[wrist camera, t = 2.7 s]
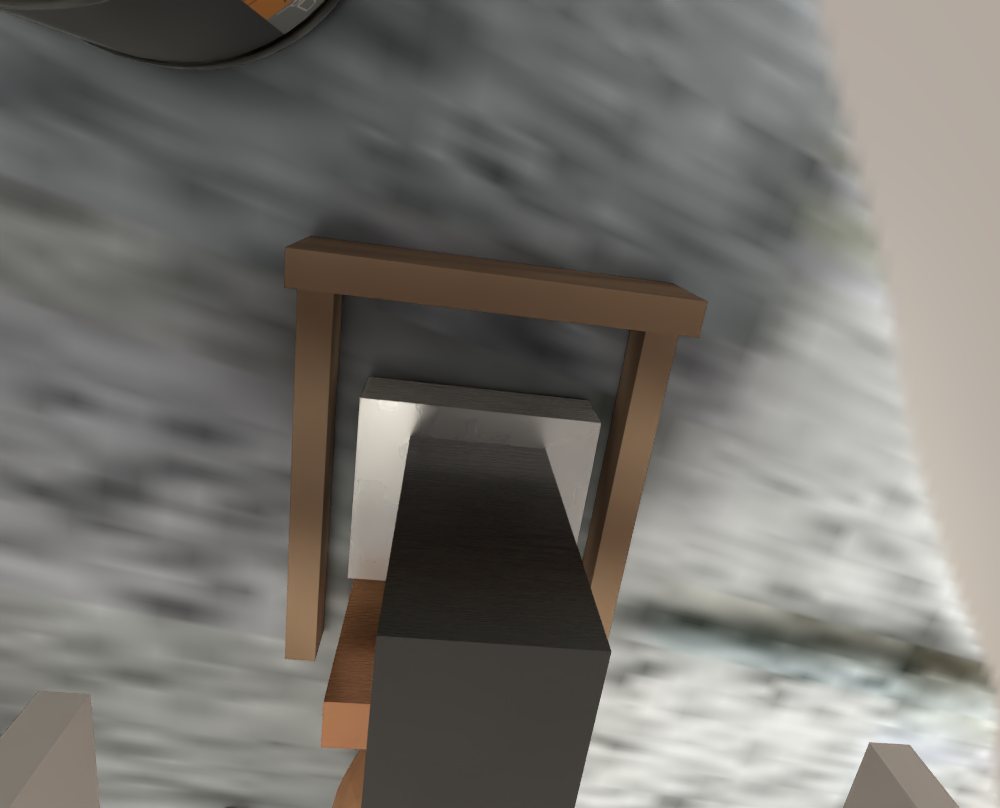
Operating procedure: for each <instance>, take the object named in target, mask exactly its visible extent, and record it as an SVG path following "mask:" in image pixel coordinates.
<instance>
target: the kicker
mask: <svg viewBox="0 0 1000 808" xmlns="http://www.w3.org/2000/svg"><path fill="white" fill-rule="evenodd" d="M600 427H601V422H600V420H599V418H598V417H597V415H596V413H595V411H594V410H593V408H592V406H591V405H590V403H589V401H588V400H579V399H570V398H560V397H551V396H542V395H533V394H524V393H515V392H505V391H496V390H487V389H478V388H469V387H460V386H450V385H441V384H432V383H423V382H414V381H405V380H396V379H386V378H377V377H369V378H368V380H367V383H366V385H365V387H364V390H363V392H362V395H361V397H360V407H359V422H358V436H357V451H356V465H355V480H354V494H353V509H352V523H351V538H350V552H349V567H348V578H354V581H353V585H352V589H351V593H350V598H349V602H348V606H347V610H346V614H345V618H344V622H343V626H342V630H341V634H340V638H339V642H338V646H337V650H336V654H335V658H334V662H333V666H332V670H331V674H330V678H329V682H328V686H327V690H326V694H325V699H324V705H323V722H322V739H321V747H327V748H347V749H366V758H365V769H364V780H363V792H362V803H361V808H574V807H575V803H576V799H577V794H578V790H579V786H580V782H581V778H582V773H583V769H584V765H585V761H586V756H587V752H588V748H589V744H590V740H591V735H592V731H593V727H594V723H595V718H596V714H597V710H598V706H599V701H600V697H601V693H602V689H603V685H604V680H605V676H606V672H607V668H608V663H609V659H610V655H611V649H610V646H609V643H608V640H607V637H606V634H605V631H604V627H603V624H602V621H601V618H600V615H599V612H598V609H597V606H596V603H595V600H594V597H593V594H592V590H591V587H590V584H589V581H588V578H587V575H586V572H585V569H584V566H583V563H582V560H581V556H580V553H579V550H578V547H577V541H578V536H579V531H580V526H581V521H582V516H583V512H584V507H585V502H586V497H587V492H588V487H589V482H590V477H591V472H592V467H593V462H594V457H595V452H596V447H597V442H598V437H599V432H600Z"/></svg>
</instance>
